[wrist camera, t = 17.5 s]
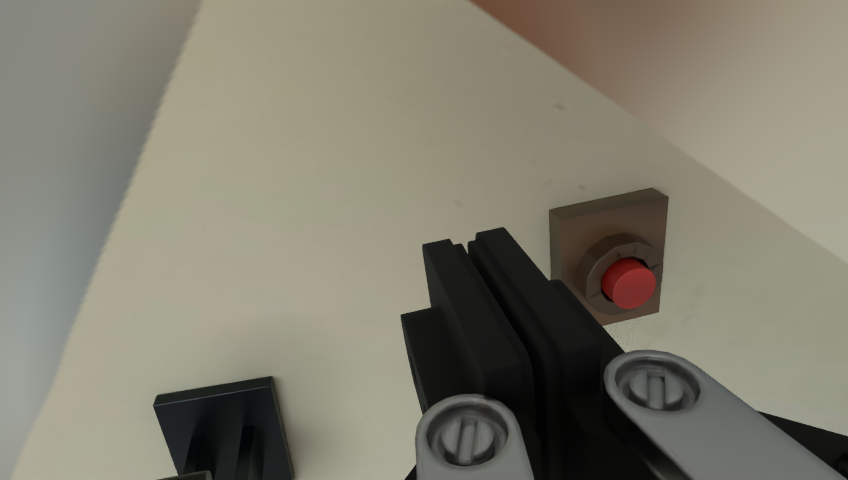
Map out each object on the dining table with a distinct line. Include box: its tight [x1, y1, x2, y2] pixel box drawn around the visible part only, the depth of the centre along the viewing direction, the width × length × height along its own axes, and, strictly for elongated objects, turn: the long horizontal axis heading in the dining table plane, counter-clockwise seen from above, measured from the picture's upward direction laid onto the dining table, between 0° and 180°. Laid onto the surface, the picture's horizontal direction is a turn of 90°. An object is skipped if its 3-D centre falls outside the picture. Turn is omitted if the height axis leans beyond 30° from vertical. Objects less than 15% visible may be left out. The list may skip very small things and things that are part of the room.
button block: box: [549, 188, 668, 326], centre depth 43 cm, size 11×9×4 cm
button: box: [602, 258, 656, 309], centre depth 41 cm, size 4×4×2 cm
